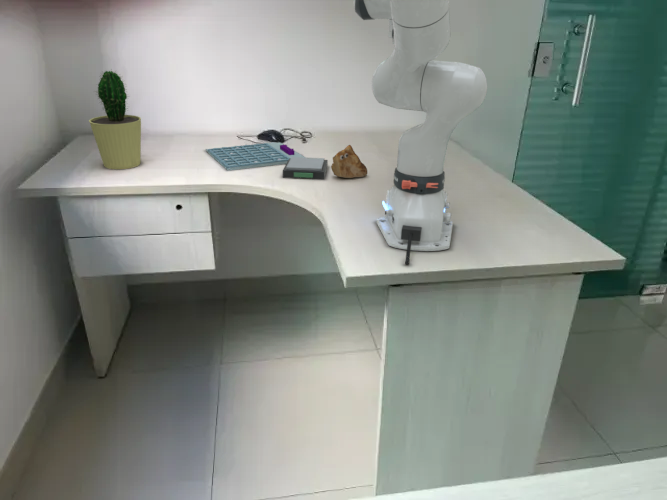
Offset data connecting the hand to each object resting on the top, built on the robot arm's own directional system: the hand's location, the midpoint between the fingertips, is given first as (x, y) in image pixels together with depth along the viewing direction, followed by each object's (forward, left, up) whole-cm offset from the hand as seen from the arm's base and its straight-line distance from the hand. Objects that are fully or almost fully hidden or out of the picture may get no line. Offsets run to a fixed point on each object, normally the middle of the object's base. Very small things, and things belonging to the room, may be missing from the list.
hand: (400, 82), depth 151 cm
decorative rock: (+1, +14, -30) cm, 33 cm away
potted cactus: (+5, +89, -30) cm, 94 cm away
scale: (+5, +28, -29) cm, 41 cm away
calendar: (+22, +48, -30) cm, 61 cm away
